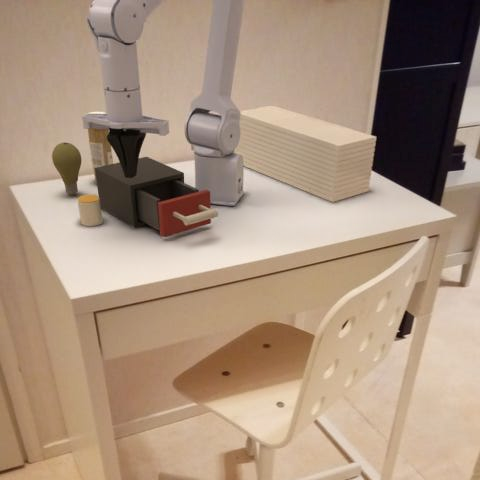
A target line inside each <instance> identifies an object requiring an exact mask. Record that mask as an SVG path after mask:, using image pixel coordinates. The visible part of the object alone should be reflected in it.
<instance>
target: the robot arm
mask: <svg viewBox="0 0 480 480" xmlns="http://www.w3.org/2000/svg"><path fill="white" fill-rule="evenodd" d="M165 2H166V0H93V1H92V2H91V3H90V5H89V9H88V17H86V24H87V28H88V30H89V32H90V33H91V35H92V36H93V38H94V41H95V47H96V50H97V51H98V55H99V62H100V71H101V78H102V87H103V95H104V103H105V104H104V105H105V113H107V114H90V112H87V113H85V114H83V115H81V119H82V127H83V129H86V130H88V129H90V128H97V129H108V130H109V134H108V135H107V141H108V142H109V143H110V145H111V149H112V151H113V152H114V153H115V155H116V157H117V159H118V163H120V164H121V167H122V170H123V173H124V176H125V178H133V177H135V176H136V175H137V165H138V159H139V158H140V153H141V149H142V147H143V144H144V142H145V138H146V136H147V134H153V135H154V134H155V135H159V136H160V137H161V136H163V137H166V136H167V135H169V134H170V121H169V120H168V119H161V118H156V117H151V116H147V115H143V108H142V96H141V83H140V71H139V60H138V48H137V47H138V46H137V41H139V40H140V38H141V37H142V34H143V30H144V25H145V23H146V22H147V19H148V18H149V17H151V15H153V14H154V12H155V11H157V9H159V8H160V6H162V5H163V4H164V3H165ZM245 2H246V1H245V0H212V7H211V8H212V9H211V15H210V25H209V33H208V41H207V48H206V55H205V65H204V73H203V81H202V89H201V93H200V94H198V95H197V96H196V97H195V98H194V99H193V100H192V101H191V102H190V107H189V112H188V115H187V117H186V119H185V122H184V137H185V139H186V141H187V142H188V144H189V145H190V148H191V151H193V155H194V183H195V184H194V185H195V186H194V188H196V189H198V190H199V191H203V190H208V191H210V205H219V206H228V207H229V206H230V207H235V206H236V205H237V203H238V202H239V201H240V199H241V198H242V197H243V196H244V194H245V191H244V167H245V166H244V164H243V156H242V155H241V154H236V153H235V150H236V147H237V145H238V143H239V140H240V111H241V110H240V109H239V108H238V107H237V105H236V104H235V102H234V101H233V100H232V98H231V97H232V89H233V83H234V77H235V69H236V62H237V56H238V49H239V41H240V36H241V28H242V20H243V14H244V7H245ZM210 112H216V113H218V114H215V113H210Z"/></svg>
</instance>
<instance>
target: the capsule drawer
mask: <svg viewBox="0 0 480 480" xmlns="http://www.w3.org/2000/svg"><path fill="white" fill-rule="evenodd" d="M134 190H135V200H136V210H137V218H138V219H139V220H141V221H143V222H145V223H147V224H146V225H148V226H150V227H152V228H154V229H156V230H158V231H159V236H161V237H162V238H166V237H170V236H174V235H177V234H180V233H183V232H187V231H190V230H194V229H197V228H200V227H203V226H206V225H209V224H211V223H212V219H214V218H217V217H218V216H219V213H218V212H219V211H218V209H217V208H215V207H214V208H211V204H210V191H208V190H203V191H199V190H198V189H196V187H195V186H194V187H193V186H192V185H189V184H188V183H185V182H184V183H183V182H181V181H179V180H176V179H175V180H171V181H166V182H162V183H158V184H154V185H150V186H146V187H142V188H138V189H134Z"/></svg>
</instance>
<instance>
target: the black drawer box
mask: <svg viewBox="0 0 480 480" xmlns="http://www.w3.org/2000/svg"><path fill="white" fill-rule="evenodd" d="M95 174H96V181H97V184H96V187H97V196H98V197H99V198H100V203H101V210H102V211H105V212H106V213H108V214H110V215H112V216H113V217H115V218H116V219H119V220H120V221H122V222H124V223H125V224H127V225H129V226H131V227H133V228H134V229H136V228H139V227H142V226H146V225H148V224H147V223H145V222H143V221H141V220H139V219H138V218H137V210H136V200H135V190H134V189H138V188H142V187H146V186H150V185H154V184H158V183H162V182H166V181H171V180H175V179H176V180H179V181H181V182H183V183H185V173H184V172H183V171H180V170H179V169H176V168H173V167H171V166H170V165H167V164H165V163H162V162H161V161H158V160H157V159H153V158H152V157H149V156H143V157H139V159H138V165H137V175H136V176H135V177H133V178H125V176H124V173H123V170H122V167H121V164H120V162H115V163H113V164H111V165H106V166H101V167H97V168H95Z"/></svg>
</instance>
